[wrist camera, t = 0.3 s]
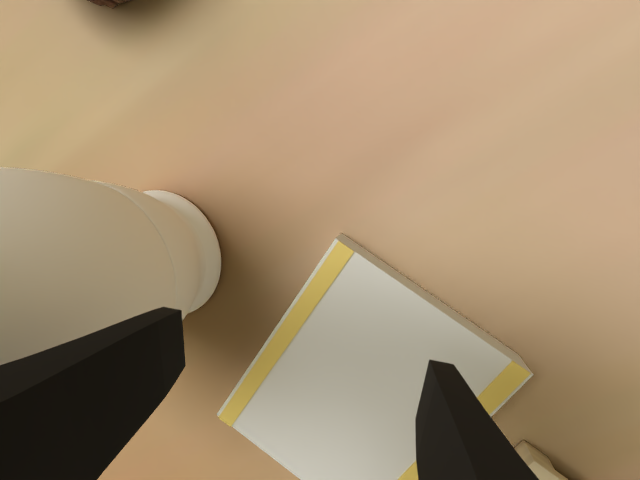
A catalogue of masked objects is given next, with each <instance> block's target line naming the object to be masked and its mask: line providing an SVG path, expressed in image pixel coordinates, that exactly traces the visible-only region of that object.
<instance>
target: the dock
mask: <svg viewBox="0 0 640 480" xmlns="http://www.w3.org/2000/svg"><path fill="white" fill-rule="evenodd" d="M429 359H430V360H435V361H440V362H445V363H450V364H454V365H455V367H456V368H457V370H458V371H459V372H460V374H461V375H462V377H463V378H464V380H465V381H466V383H467V384H468V386H469V387H470V388H471V390H472V391H473V393H474V394H475V396H476V397H477V399H478V400H479V401H480V403H481V404H482V406H483V407H484V409H485V410H486V411H487V413H488V414H489V415H490V417H492V416H493V415H494V414H495V413H496V412H497V411H498V410H499V409H500V408H501V407H502V406H503V405H504V404H505V403H506V402H507V401H508V400H509V399H510V398H511V397H512V396H513V395H514V394H515V393H516V392H517V391H518V390H519V389H520V388H521V387H522V386H523V385H524V384H525V383H526V382H527V381H528V380H529V379H530V378H531V377H532V376H533V374H532V372H531V371H530V369H529V368H528V367H527V365H526V364H525V363H524V361H523V360H522V359H521V357H520V356H519V355H518V354H517V353H516V352H514V351H513V350H511V349H510V348H508V347H507V346H505V345H504V344H502V343H501V342H500V341H498V340H497V339H495V338H494V337H492V336H491V335H489V334H488V333H486V332H485V331H484V330H482V329H481V328H479V327H478V326H476V325H475V324H473V323H472V322H470V321H469V320H467V319H466V318H465V317H463V316H462V315H460V314H459V313H457V312H456V311H454V310H453V309H451V308H450V307H449V306H447V305H446V304H444V303H443V302H441V301H440V300H438V299H437V298H435V297H434V296H433V295H431V294H430V293H428V292H427V291H425V290H424V289H422V288H421V287H419V286H418V285H417V284H415V283H414V282H412V281H411V280H409V279H408V278H406V277H405V276H403V275H402V274H401V273H399V272H398V271H396V270H395V269H393V268H392V267H390V266H389V265H387V264H386V263H385V262H383V261H382V260H380V259H379V258H377V257H376V256H374V255H373V254H371V253H370V252H369V251H367V250H366V249H364V248H363V247H361V246H360V245H358V244H357V243H355V242H354V241H353V240H351V239H350V238H348V237H347V236H345V235H344V234H342V233H341V234H340V235H339V236H337V237H336V238H335V240H334V241H333V243H332V244H331V246H330V247H329V249H328V250H327V252H326V253H325V255H324V256H323V258H322V259H321V261H320V262H319V264H318V265H317V267H316V268H315V270H314V271H313V273H312V274H311V276H310V277H309V278H308V280H307V281H306V283H305V284H304V286H303V287H302V289H301V290H300V292H299V293H298V295H297V296H296V298H295V299H294V301H293V302H292V304H291V305H290V307H289V308H288V310H287V311H286V313H285V314H284V315H283V317H282V318H281V320H280V321H279V323H278V324H277V326H276V327H275V329H274V330H273V332H272V333H271V335H270V336H269V338H268V339H267V341H266V342H265V344H264V345H263V347H262V348H261V350H260V351H259V352H258V354H257V355H256V357H255V358H254V360H253V361H252V363H251V364H250V366H249V367H248V369H247V370H246V372H245V373H244V375H243V376H242V378H241V379H240V381H239V382H238V384H237V385H236V387H235V388H234V389H233V391H232V392H231V394H230V395H229V397H228V398H227V400H226V401H225V403H224V404H223V406H222V407H221V409H220V410H219V412H218V413H217V415H218V416H219V417H218V418H219V419H221V420H222V421H223V422H225V423H226V424H227V425H228V426H230V427H231V426H232V427H233V428H235V429H236V430H237V431H238V432H240V433H241V434H242V435H244V436H245V437H246V438H248V439H249V440H250V441H251V442H253V443H254V444H255V445H257V446H258V447H259V448H260V449H262V450H263V451H264V452H266V453H267V454H268V455H270V456H271V457H272V458H273V459H275V460H276V461H277V462H279V463H280V464H281V465H282V466H284V467H285V468H286V469H288V470H289V471H290V472H292V473H293V474H294V475H295V476H297V477H298V478H299V479H301V480H418V472H417V463H416V432H415V418H416V414H417V410H418V405H419V401H420V397H421V393H422V388H423V384H424V380H425V376H426V371H427V367H428V363H429Z"/></svg>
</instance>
